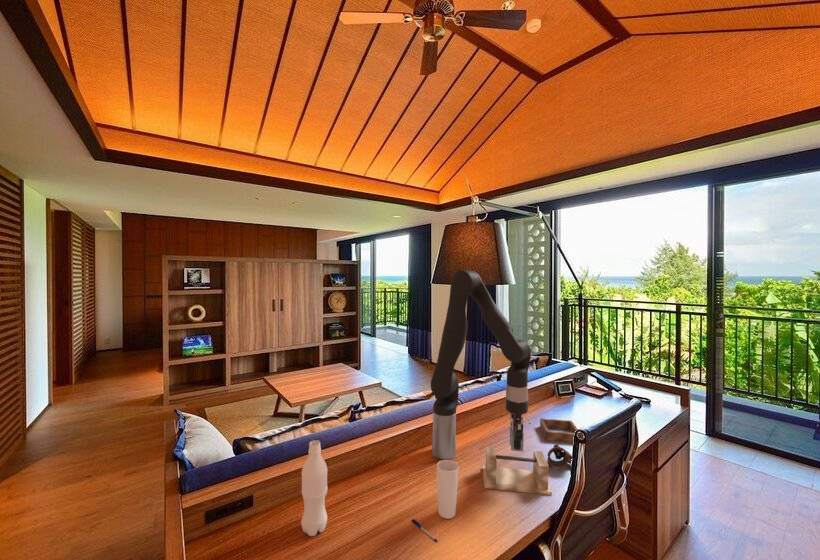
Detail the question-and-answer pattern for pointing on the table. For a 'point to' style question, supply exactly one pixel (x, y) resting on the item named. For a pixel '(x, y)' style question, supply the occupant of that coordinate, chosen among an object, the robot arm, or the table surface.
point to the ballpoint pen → (423, 529)
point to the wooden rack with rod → (517, 474)
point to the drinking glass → (447, 487)
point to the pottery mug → (559, 457)
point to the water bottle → (314, 490)
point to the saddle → (513, 441)
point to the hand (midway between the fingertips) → (516, 444)
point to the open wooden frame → (557, 424)
